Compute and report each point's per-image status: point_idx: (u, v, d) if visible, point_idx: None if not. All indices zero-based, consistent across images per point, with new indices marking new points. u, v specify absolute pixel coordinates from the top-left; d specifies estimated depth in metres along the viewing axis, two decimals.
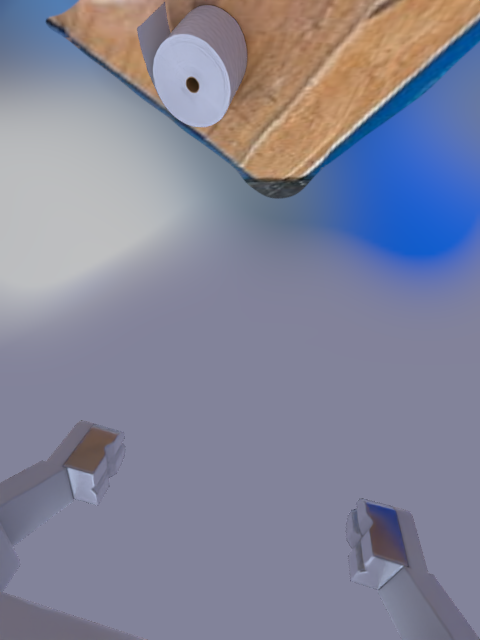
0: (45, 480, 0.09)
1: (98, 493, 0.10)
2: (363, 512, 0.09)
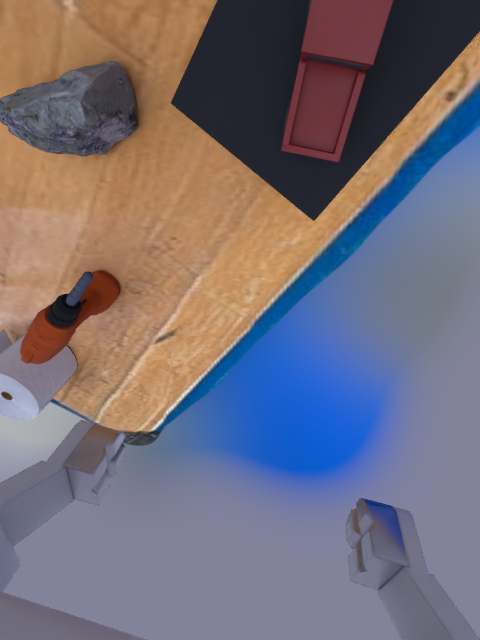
0: (45, 480, 0.09)
1: (98, 493, 0.10)
2: (363, 512, 0.09)
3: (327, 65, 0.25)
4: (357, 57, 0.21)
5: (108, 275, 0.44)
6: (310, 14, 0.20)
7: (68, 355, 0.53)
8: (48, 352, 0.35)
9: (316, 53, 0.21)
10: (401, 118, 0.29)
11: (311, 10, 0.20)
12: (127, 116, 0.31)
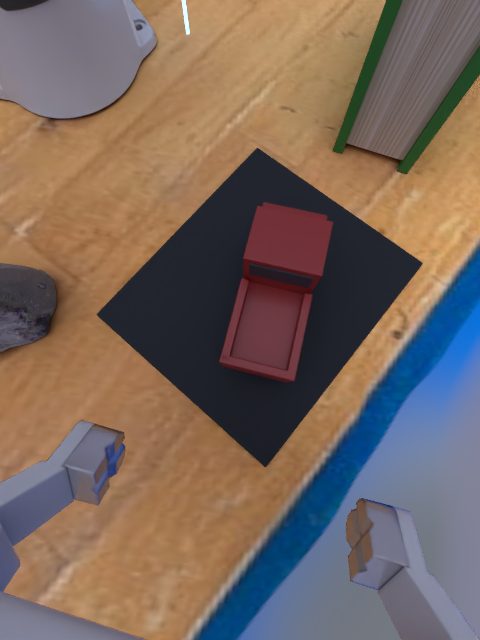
0: (45, 481, 0.09)
1: (98, 493, 0.10)
2: (363, 512, 0.10)
3: (271, 287, 0.23)
4: (304, 268, 0.19)
5: None
6: (252, 231, 0.20)
7: None
8: None
9: (259, 261, 0.19)
10: (354, 349, 0.26)
11: (252, 229, 0.20)
12: (33, 317, 0.25)
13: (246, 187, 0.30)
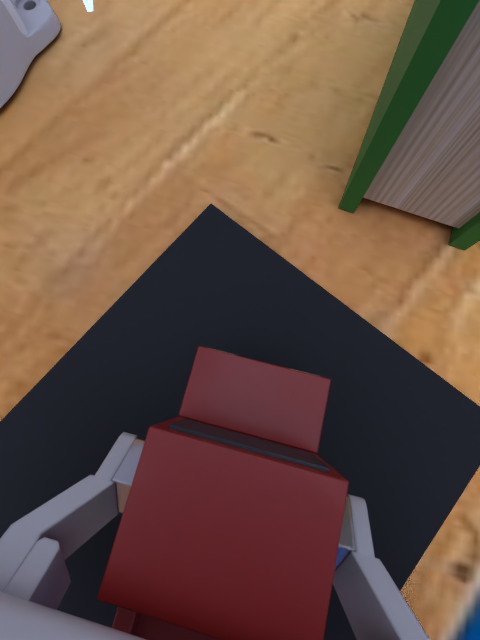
0: (96, 496, 0.08)
1: None
2: None
3: None
4: None
5: None
6: (128, 510, 0.07)
7: None
8: None
9: (142, 612, 0.07)
10: None
11: (131, 501, 0.07)
12: None
13: (189, 275, 0.17)
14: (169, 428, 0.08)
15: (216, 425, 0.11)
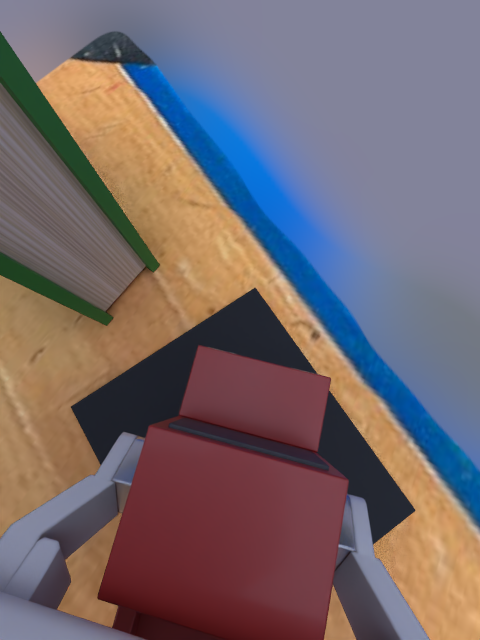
0: (96, 496, 0.08)
1: None
2: None
3: None
4: None
5: None
6: (128, 508, 0.07)
7: None
8: None
9: (142, 611, 0.07)
10: None
11: (131, 500, 0.07)
12: None
13: (114, 435, 0.26)
14: (169, 427, 0.08)
15: (216, 424, 0.11)
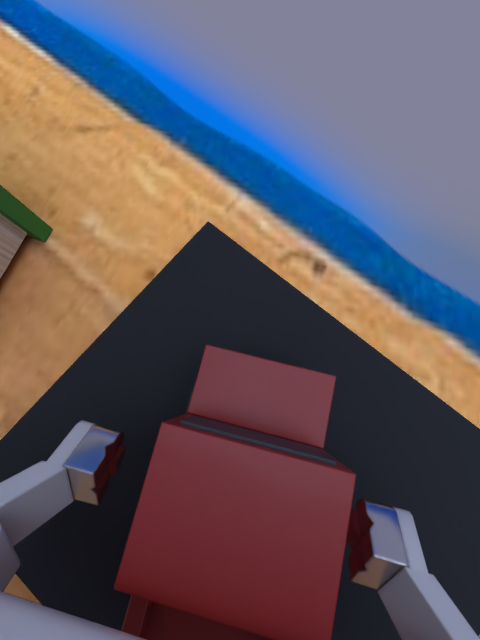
0: (45, 481, 0.09)
1: (98, 493, 0.10)
2: (363, 512, 0.09)
3: None
4: (278, 629, 0.07)
5: None
6: (142, 502, 0.08)
7: None
8: None
9: (157, 601, 0.07)
10: (351, 333, 0.16)
11: (145, 494, 0.08)
12: None
13: None
14: (180, 424, 0.08)
15: (224, 422, 0.11)
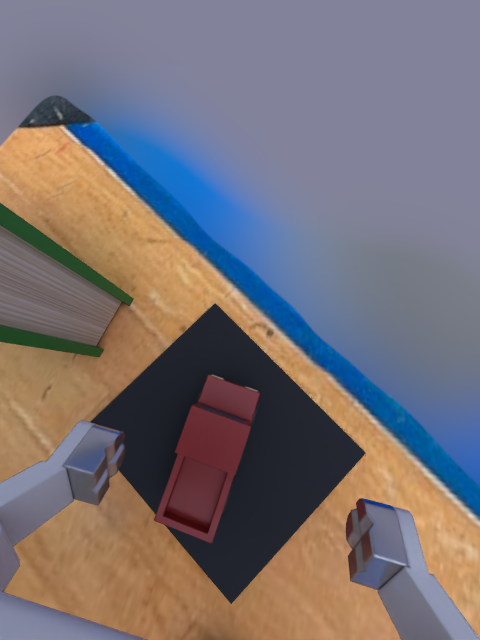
0: (45, 481, 0.09)
1: (98, 493, 0.10)
2: (363, 512, 0.09)
3: None
4: (221, 467, 0.24)
5: None
6: (184, 429, 0.25)
7: None
8: None
9: (187, 456, 0.24)
10: (280, 369, 0.33)
11: (185, 426, 0.25)
12: None
13: (123, 443, 0.32)
14: (197, 406, 0.25)
15: (212, 407, 0.28)
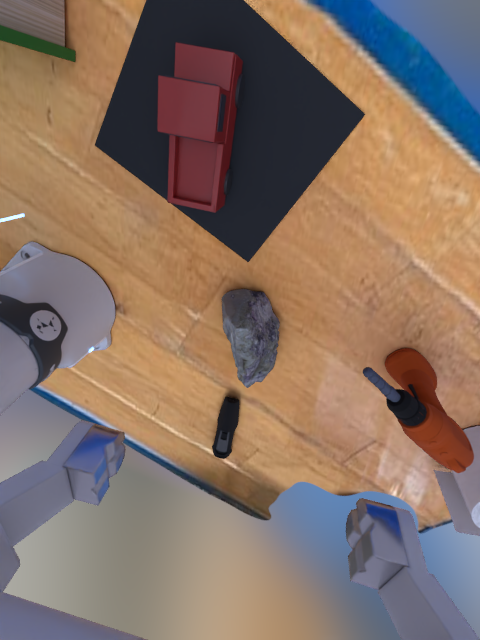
0: (45, 481, 0.09)
1: (98, 493, 0.10)
2: (363, 512, 0.09)
3: None
4: (201, 136, 0.26)
5: (392, 354, 0.42)
6: (159, 104, 0.25)
7: None
8: (456, 444, 0.31)
9: (169, 133, 0.26)
10: (266, 24, 0.28)
11: (159, 101, 0.25)
12: (253, 298, 0.39)
13: (132, 152, 0.35)
14: (165, 76, 0.25)
15: None
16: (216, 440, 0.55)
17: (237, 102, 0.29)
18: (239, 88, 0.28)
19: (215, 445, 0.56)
